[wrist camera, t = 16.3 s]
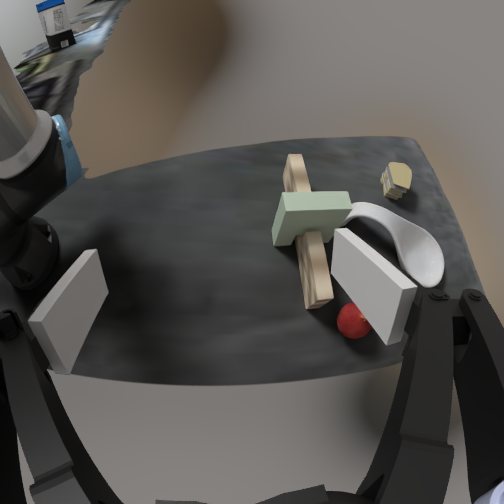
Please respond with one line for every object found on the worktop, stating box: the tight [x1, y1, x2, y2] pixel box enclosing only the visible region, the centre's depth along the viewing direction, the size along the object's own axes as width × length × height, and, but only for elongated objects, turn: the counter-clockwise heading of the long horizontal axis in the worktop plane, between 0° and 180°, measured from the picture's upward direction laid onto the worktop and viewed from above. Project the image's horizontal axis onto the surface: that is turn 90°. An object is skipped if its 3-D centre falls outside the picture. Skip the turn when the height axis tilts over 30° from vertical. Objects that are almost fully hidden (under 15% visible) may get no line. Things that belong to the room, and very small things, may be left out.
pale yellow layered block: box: [381, 162, 412, 200], centre depth 54 cm, size 10×9×6 cm
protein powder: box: [36, 0, 76, 51], centre depth 69 cm, size 10×24×30 cm, turn 68°
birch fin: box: [283, 154, 334, 309], centre depth 47 cm, size 26×2×7 cm, turn 6°
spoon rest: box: [341, 202, 444, 288], centre depth 47 cm, size 24×12×7 cm, turn 59°
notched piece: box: [272, 191, 353, 246], centre depth 44 cm, size 10×3×12 cm, turn 96°
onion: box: [337, 302, 372, 339], centre depth 41 cm, size 6×6×8 cm
